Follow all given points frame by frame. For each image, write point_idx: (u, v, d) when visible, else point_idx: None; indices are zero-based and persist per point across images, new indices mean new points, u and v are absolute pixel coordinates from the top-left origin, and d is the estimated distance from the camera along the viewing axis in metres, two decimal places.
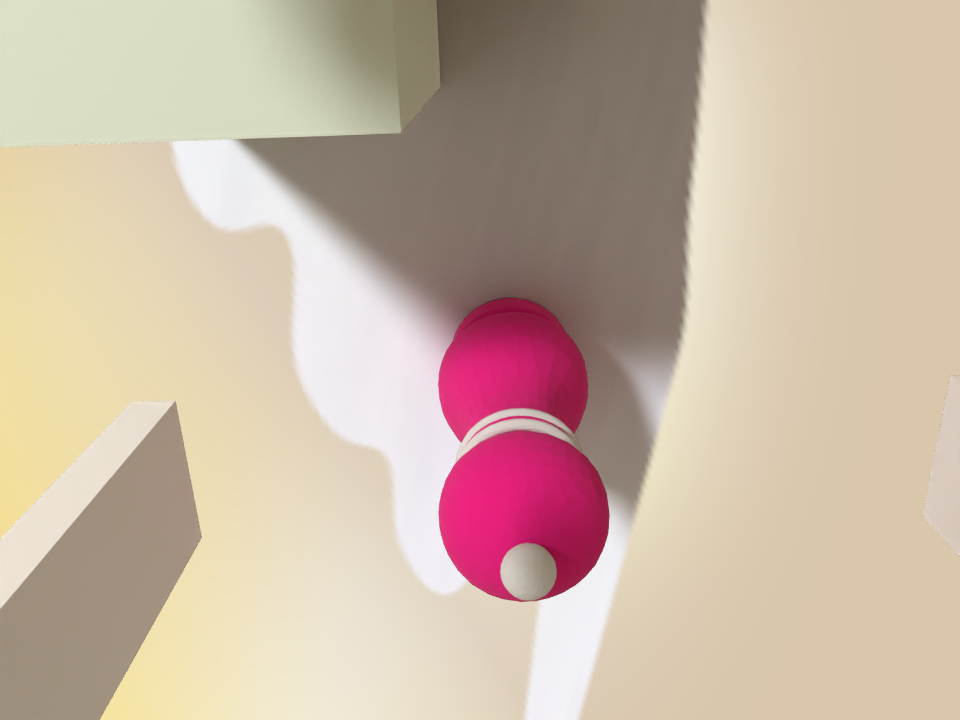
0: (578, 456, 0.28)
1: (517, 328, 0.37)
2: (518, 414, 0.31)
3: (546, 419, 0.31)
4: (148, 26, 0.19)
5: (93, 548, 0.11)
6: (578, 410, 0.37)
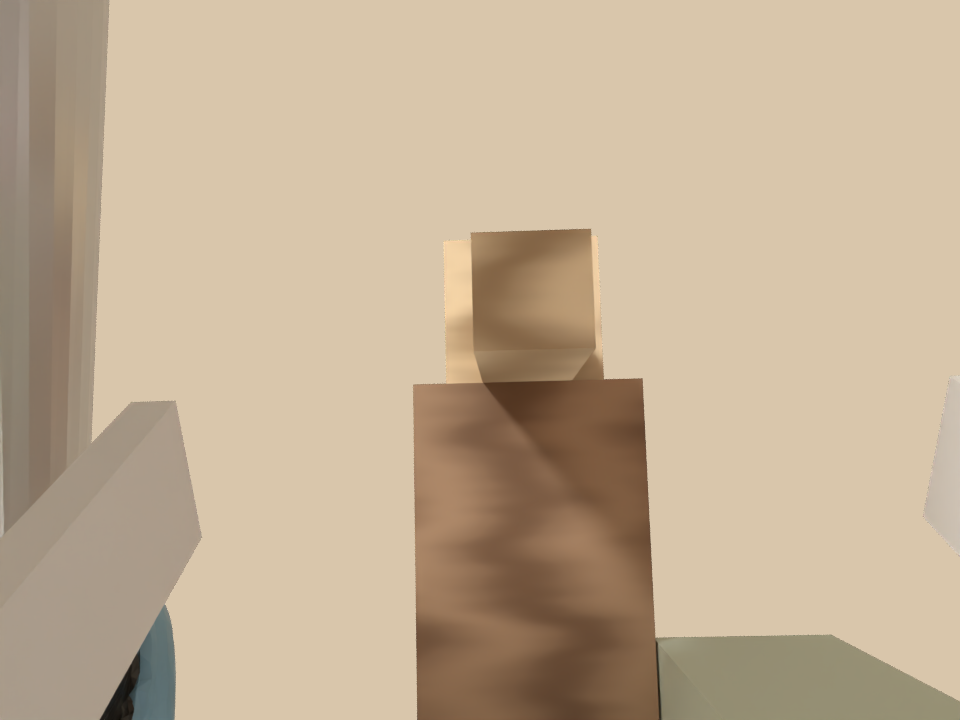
0: None
1: None
2: None
3: None
4: (818, 673, 0.26)
5: (93, 548, 0.11)
6: None
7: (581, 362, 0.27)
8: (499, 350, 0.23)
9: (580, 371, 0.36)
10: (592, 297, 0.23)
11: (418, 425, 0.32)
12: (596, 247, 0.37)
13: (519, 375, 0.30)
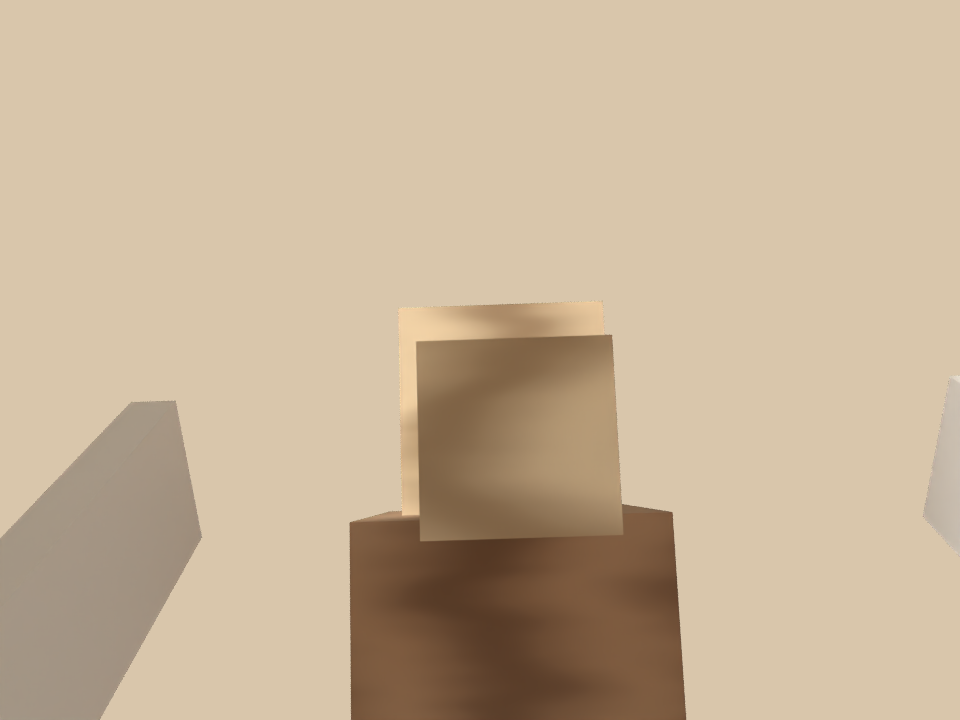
0: None
1: None
2: None
3: None
4: None
5: (92, 549, 0.11)
6: None
7: None
8: (463, 539, 0.14)
9: None
10: (616, 449, 0.14)
11: (356, 581, 0.23)
12: (601, 317, 0.28)
13: None
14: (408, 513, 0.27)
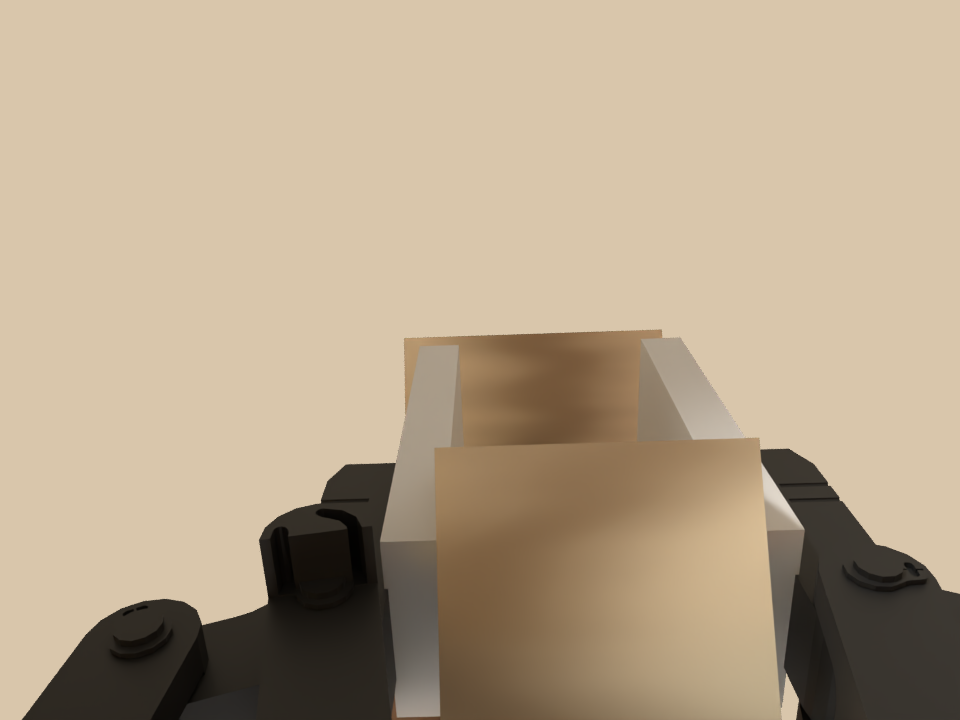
0: None
1: None
2: None
3: None
4: None
5: None
6: None
7: None
8: None
9: None
10: (771, 635, 0.08)
11: None
12: None
13: None
14: None
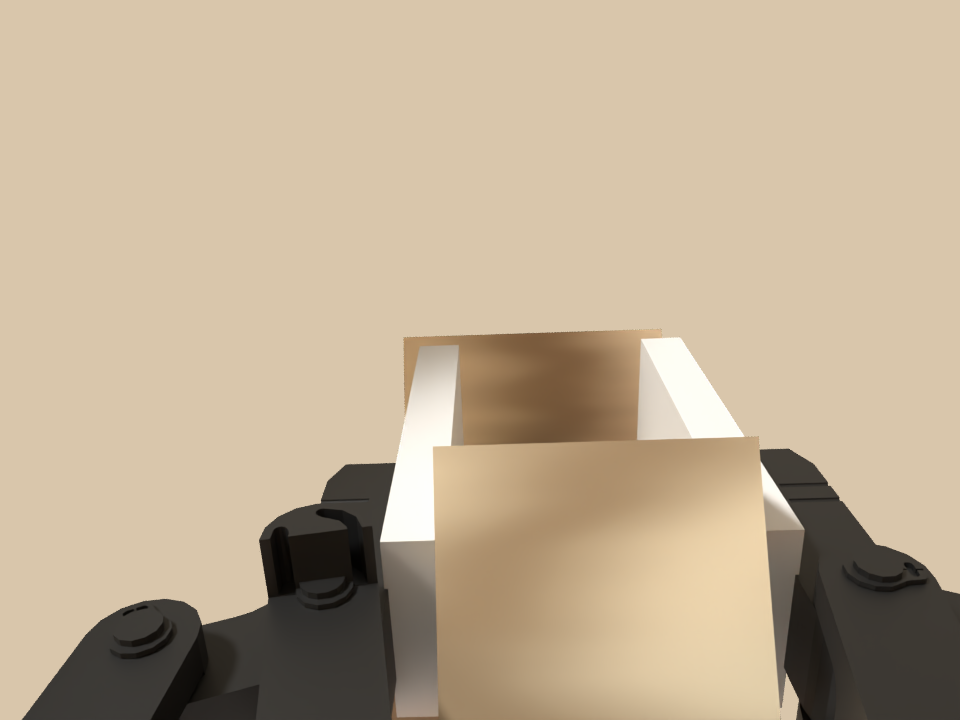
0: None
1: None
2: None
3: None
4: None
5: None
6: None
7: None
8: None
9: None
10: (770, 634, 0.08)
11: None
12: None
13: None
14: None
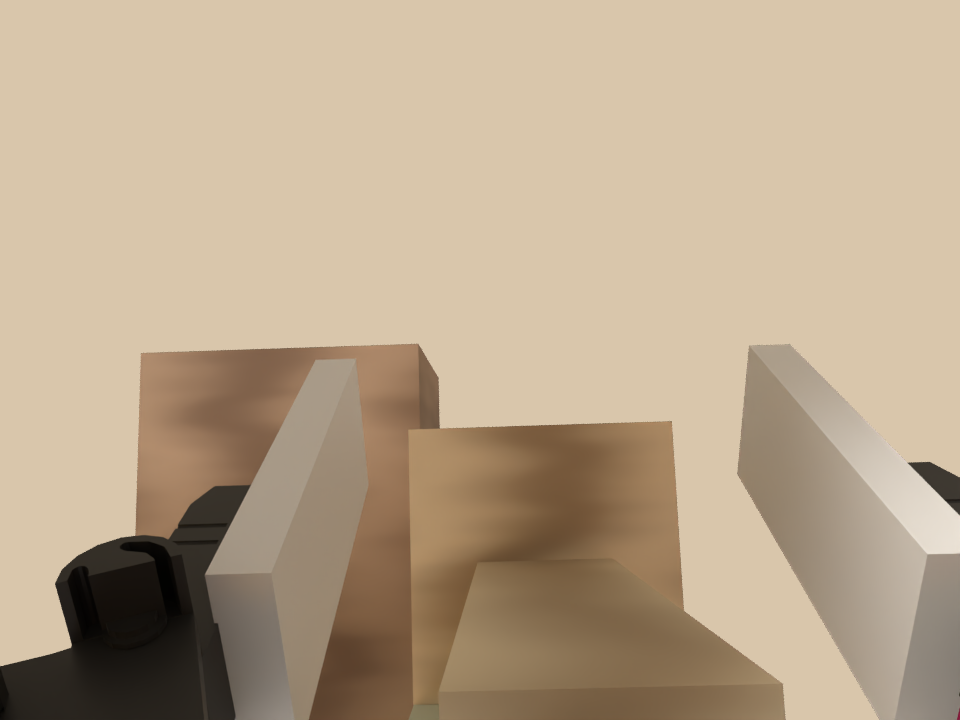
0: None
1: None
2: None
3: None
4: None
5: (326, 477, 0.12)
6: None
7: None
8: None
9: None
10: None
11: (145, 402, 0.26)
12: (669, 443, 0.22)
13: None
14: (421, 702, 0.21)
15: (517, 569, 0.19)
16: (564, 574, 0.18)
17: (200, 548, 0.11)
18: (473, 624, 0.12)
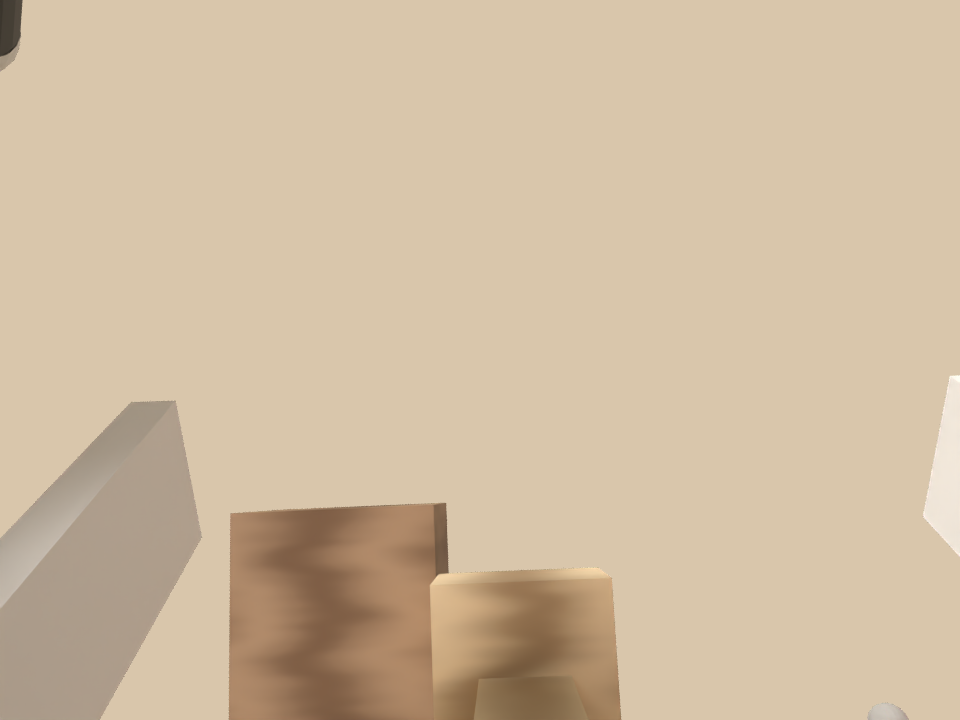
0: None
1: None
2: None
3: None
4: None
5: (93, 548, 0.11)
6: None
7: None
8: None
9: None
10: None
11: (234, 550, 0.36)
12: (610, 593, 0.31)
13: None
14: None
15: (505, 690, 0.29)
16: (535, 697, 0.28)
17: None
18: None
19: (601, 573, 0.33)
